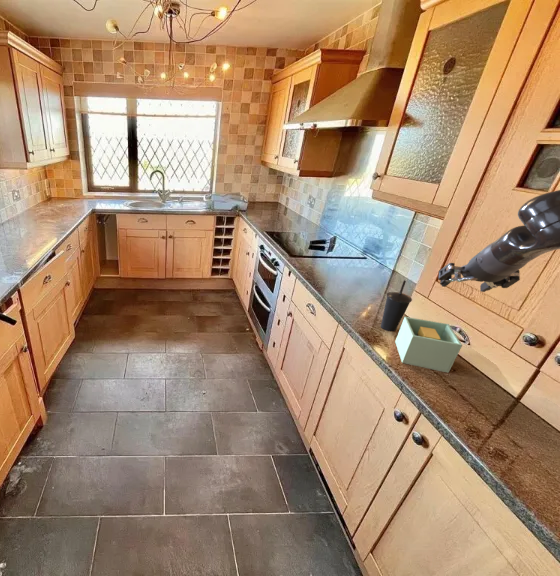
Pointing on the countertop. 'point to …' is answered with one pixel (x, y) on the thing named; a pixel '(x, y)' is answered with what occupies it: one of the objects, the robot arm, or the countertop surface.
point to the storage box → (427, 345)
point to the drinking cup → (394, 309)
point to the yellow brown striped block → (428, 333)
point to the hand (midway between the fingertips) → (462, 286)
